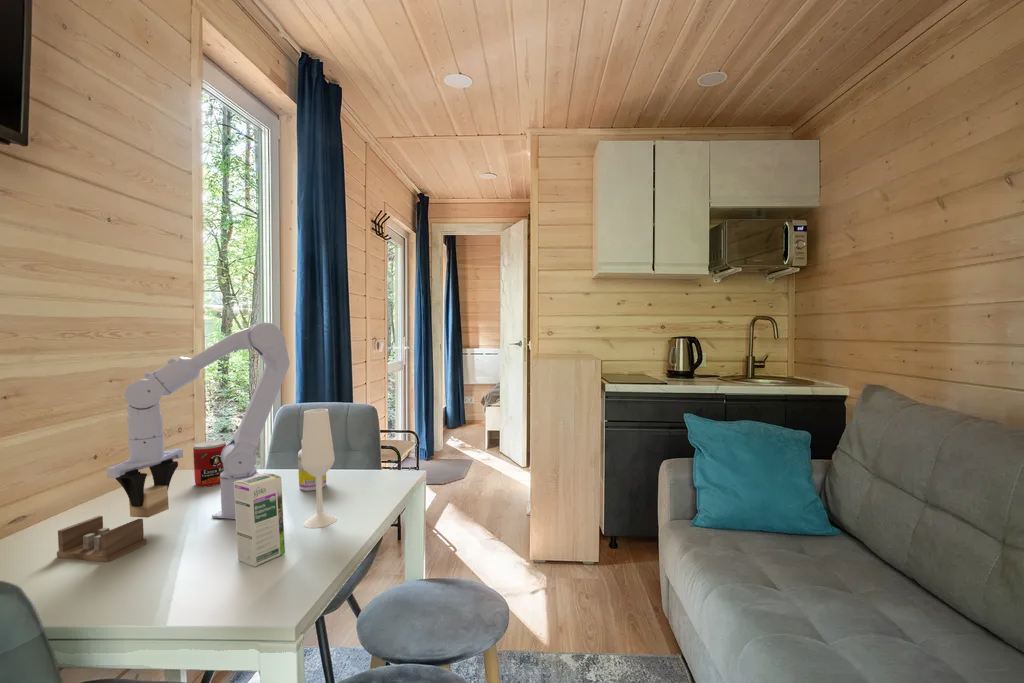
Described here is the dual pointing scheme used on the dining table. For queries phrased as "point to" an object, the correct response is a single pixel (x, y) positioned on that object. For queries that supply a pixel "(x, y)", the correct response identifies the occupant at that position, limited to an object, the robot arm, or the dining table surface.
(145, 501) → the light wooden block
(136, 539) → the stand
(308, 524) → the champagne flute
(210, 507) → the dining table surface
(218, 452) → the canned food
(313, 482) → the supplement bottle
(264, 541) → the syrup box
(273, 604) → the dining table surface
